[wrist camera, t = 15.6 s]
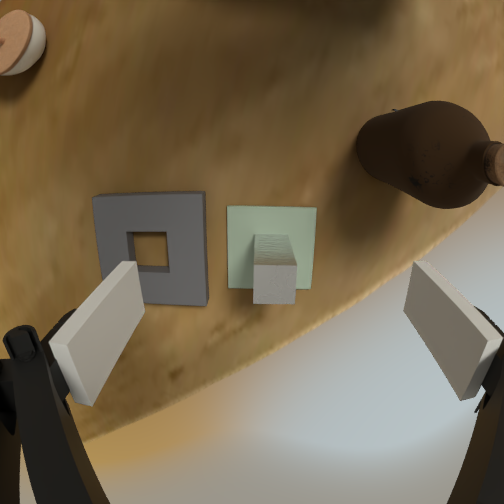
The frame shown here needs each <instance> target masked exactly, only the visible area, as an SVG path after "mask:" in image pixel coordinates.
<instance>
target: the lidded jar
mask: <svg viewBox="0 0 504 504" xmlns="http://www.w3.org/2000/svg"><path fill="white" fill-rule="evenodd" d="M45 44H46V33H45V29H44V26H43V24H42V23H41V22H40V21H39V20H38V19H37V18H36V17H34V16H32V15H30V14H28V13H27V12H25V11H23V10H15V11H12V12H10V13H8V14H6V15H5V16H4V17H2V18H1V19H0V75H15V74H19V73H21V72H24V71H25V70H27V69H29V68H30V67H31V66H32V65H33V64H34V63H35V62H36V61H37V60H38V59H39V58H40V57H41V55H42V53H43V51H44V49H45Z"/></svg>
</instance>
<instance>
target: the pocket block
mask: <svg viewBox="0 0 504 504" xmlns="http://www.w3.org/2000/svg"><path fill="white" fill-rule="evenodd" d="M92 202H93V213H94V222H95V231H96V239H97V247H98V254H99V260H100V267H101V273H102V279H103V281H104V279H105V278H106V277H107V276H108V275H109V274H110V273H111V272H112V271H113V270H114V269H115V268H116V267H117V266H118V265H119V264H120V263H121V262H122V261H136V257H135V248H134V238H133V232H167V243H168V256H169V266H141V265H137V268H138V274H139V281H140V286H141V292H142V298H143V303H153V304H171V305H193V306H207V303H208V300H209V287H208V264H207V237H206V200H205V191H172V192H138V193H115V194H99V195H97V196H94V197H92Z"/></svg>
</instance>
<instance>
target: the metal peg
mask: <svg viewBox="0 0 504 504" xmlns="http://www.w3.org/2000/svg"><path fill="white" fill-rule="evenodd" d="M296 280H297V262H296V259H295V256H294V253H293V249H292V246H291V243H290V240H289V236H288V234H255V243H254V283H253V304H295V294H296Z"/></svg>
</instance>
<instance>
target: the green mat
mask: <svg viewBox="0 0 504 504" xmlns="http://www.w3.org/2000/svg"><path fill="white" fill-rule="evenodd" d="M316 211H317V208H316V207H288V206H227V234H228V288H253V283H254V243H255V234H288V236H289V240H290V243H291V246H292V249H293V253H294V256H295V259H296V262H297V280H296V289H311V279H312V268H313V255H314V242H315V227H316Z"/></svg>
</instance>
